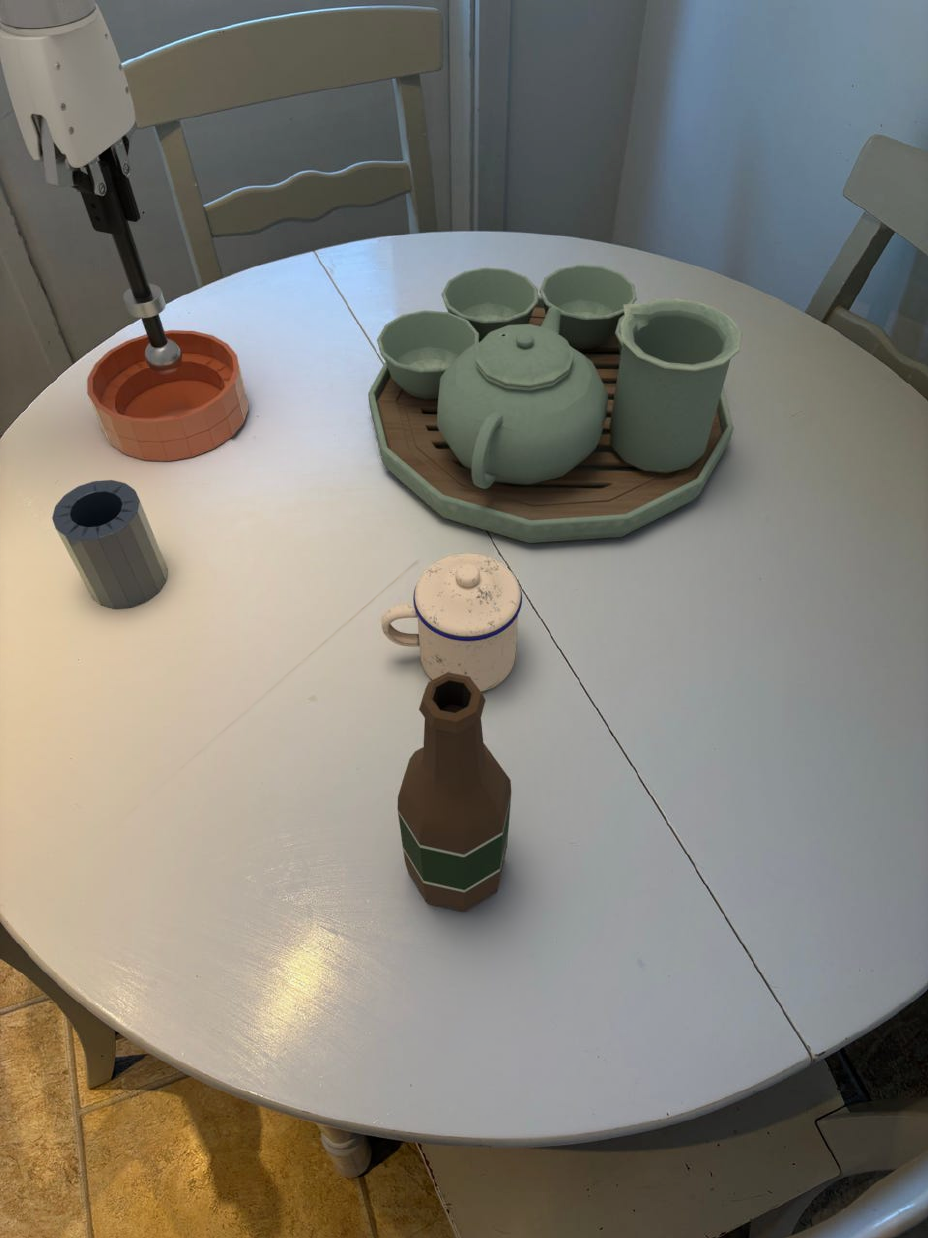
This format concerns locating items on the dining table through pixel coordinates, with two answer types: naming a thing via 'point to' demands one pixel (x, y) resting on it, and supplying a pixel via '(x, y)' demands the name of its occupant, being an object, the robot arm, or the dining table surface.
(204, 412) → the bowl
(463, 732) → the beer bottle
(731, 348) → the tea set
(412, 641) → the teacup with lid
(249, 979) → the dining table surface
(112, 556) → the crock
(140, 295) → the ball-tipped black rod
